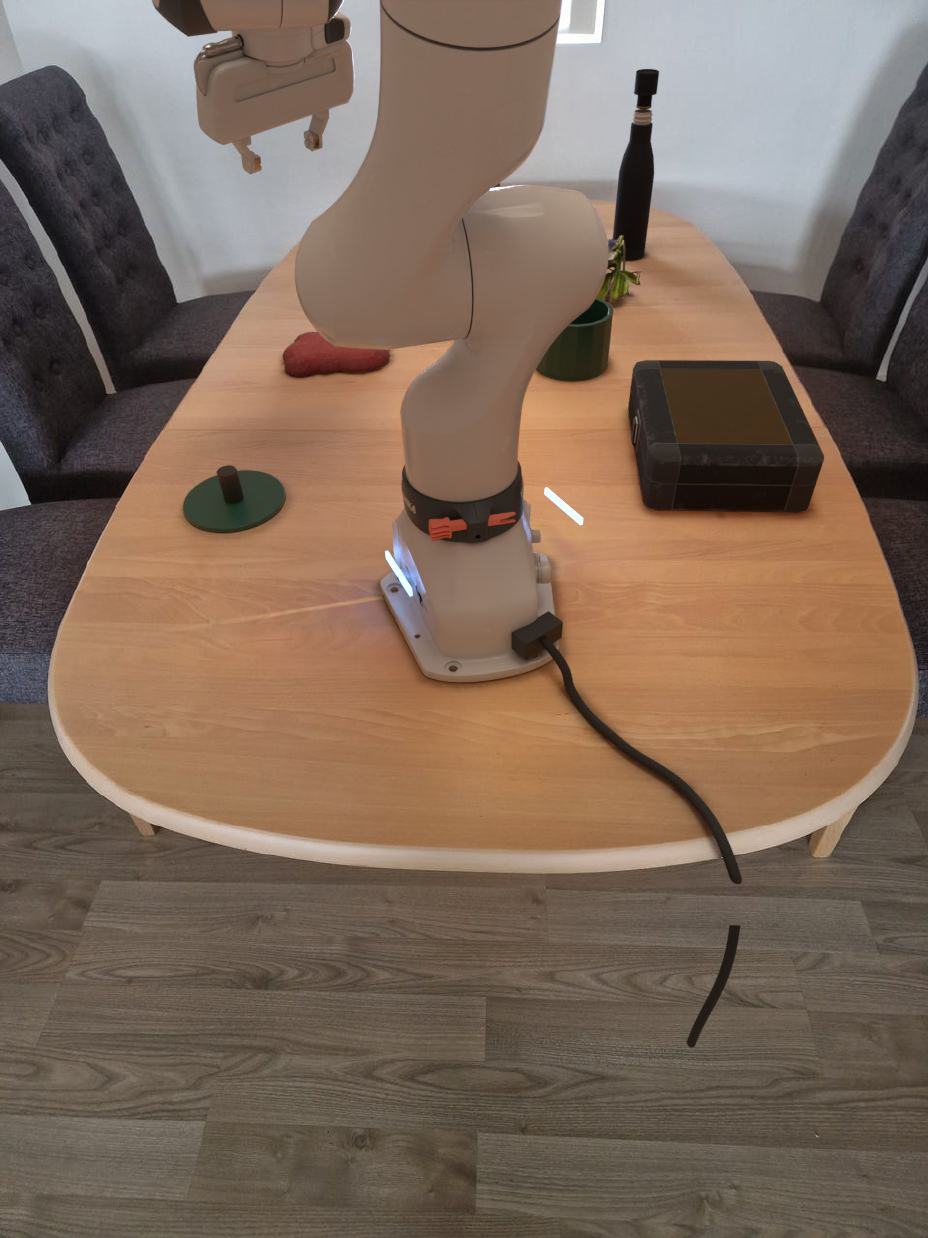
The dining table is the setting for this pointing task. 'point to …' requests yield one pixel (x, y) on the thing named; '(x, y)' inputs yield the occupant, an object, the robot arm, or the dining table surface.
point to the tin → (581, 346)
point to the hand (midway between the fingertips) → (283, 159)
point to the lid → (234, 500)
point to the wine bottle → (637, 171)
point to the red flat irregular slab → (329, 357)
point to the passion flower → (617, 272)
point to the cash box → (721, 437)
